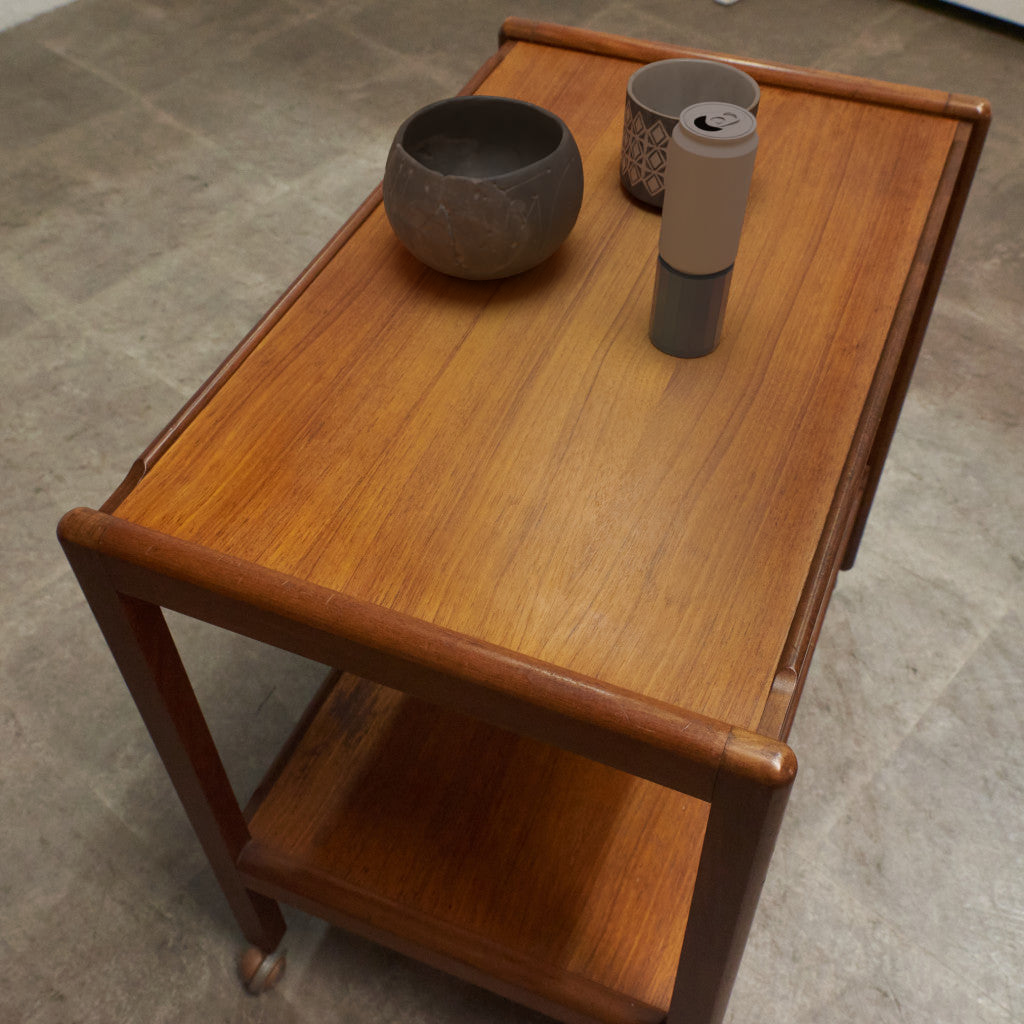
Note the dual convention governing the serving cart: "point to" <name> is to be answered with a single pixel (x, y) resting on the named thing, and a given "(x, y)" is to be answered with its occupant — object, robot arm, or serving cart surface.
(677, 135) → the beverage can
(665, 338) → the cup
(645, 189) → the planter
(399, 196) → the bowl
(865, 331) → the serving cart surface
